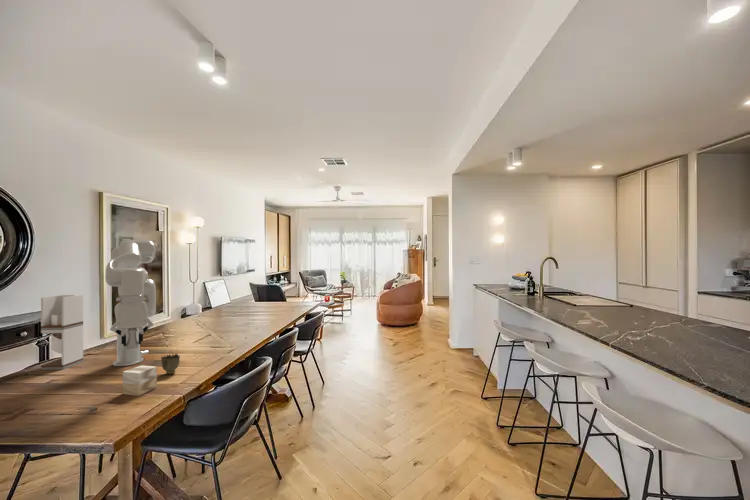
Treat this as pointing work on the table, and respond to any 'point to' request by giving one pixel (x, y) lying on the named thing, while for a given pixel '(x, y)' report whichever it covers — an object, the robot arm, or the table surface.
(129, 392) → the tower base
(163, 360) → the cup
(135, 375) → the tower top
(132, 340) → the rook chess piece
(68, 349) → the display case
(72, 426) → the table surface
